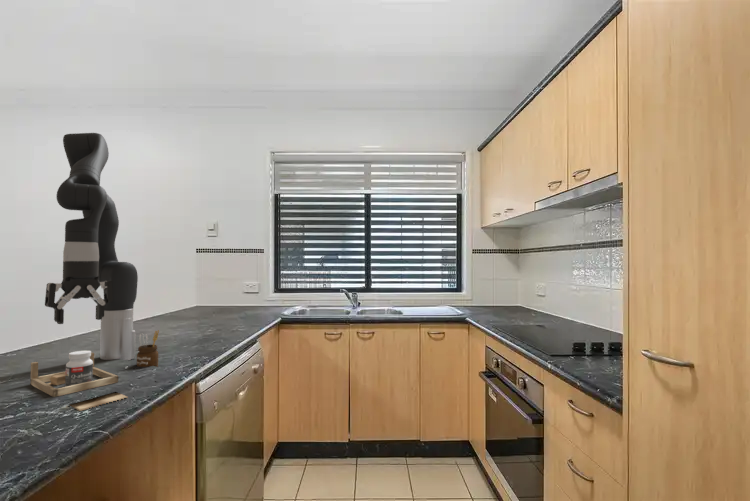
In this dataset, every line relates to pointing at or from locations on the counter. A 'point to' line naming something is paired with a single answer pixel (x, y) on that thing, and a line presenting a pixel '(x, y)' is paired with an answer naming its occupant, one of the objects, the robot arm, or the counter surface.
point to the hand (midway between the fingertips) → (80, 321)
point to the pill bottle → (79, 368)
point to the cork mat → (97, 401)
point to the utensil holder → (148, 354)
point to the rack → (39, 383)
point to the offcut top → (58, 379)
